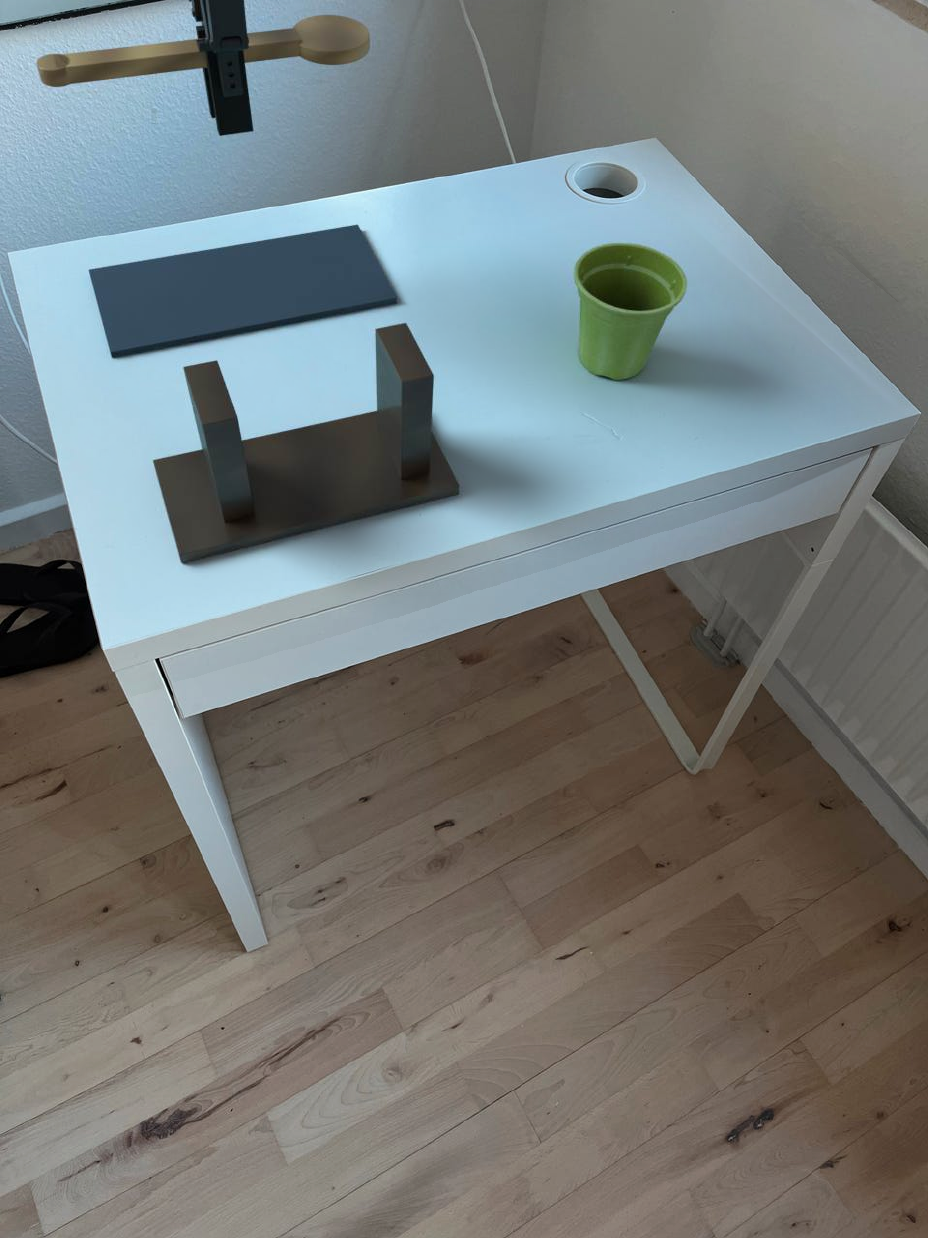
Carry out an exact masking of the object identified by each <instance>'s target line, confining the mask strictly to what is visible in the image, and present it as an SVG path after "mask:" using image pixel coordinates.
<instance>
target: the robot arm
mask: <svg viewBox="0 0 928 1238" xmlns="http://www.w3.org/2000/svg"><path fill="white" fill-rule="evenodd" d="M188 3H191V15H192V17H193V19H194V20H195V21H194V22H196V23H200V24H201V25H195V31H196V37H197V38H196V39H199V40H196V42H197V46H198V50H199V52H205V55H206V61H207V68H202V75H203V81H204V86H205V92H206V98H207V104H208V111H209V115H210V118H211V119H215V124H216V131H217V133H218V136H219V137H222V136H223V137H224V136H229V135H237V134H244V133H252V132H254V124H253V116H252V108H251V100H250V93H249V84H248V76H247V68H246V63H245V60H244V52H243V50H248V48H249V45H248V44H249V38H248V36H247V33H248V28H247V26H248V25H247V17H246V8H245V0H188ZM201 38H205V39H201Z"/></svg>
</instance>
